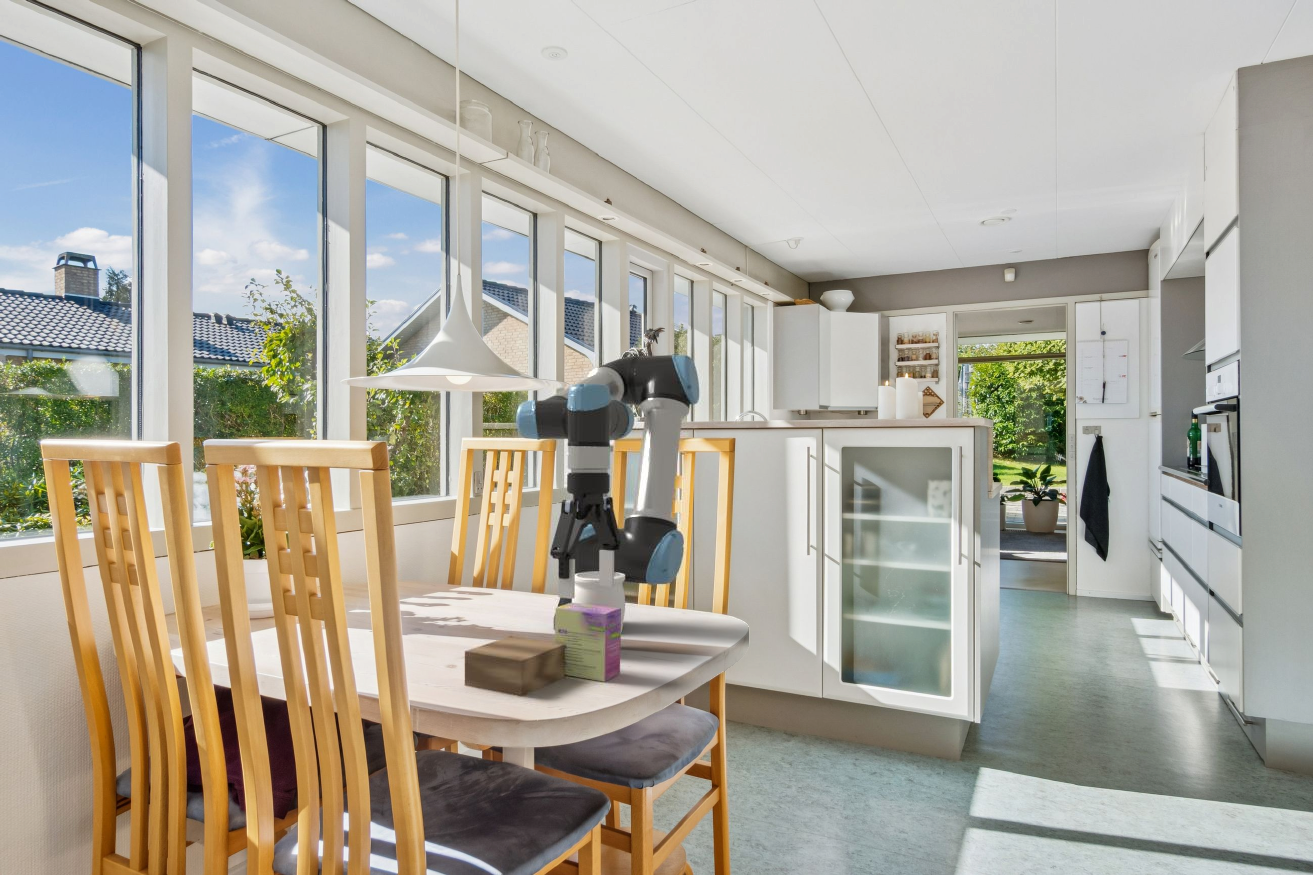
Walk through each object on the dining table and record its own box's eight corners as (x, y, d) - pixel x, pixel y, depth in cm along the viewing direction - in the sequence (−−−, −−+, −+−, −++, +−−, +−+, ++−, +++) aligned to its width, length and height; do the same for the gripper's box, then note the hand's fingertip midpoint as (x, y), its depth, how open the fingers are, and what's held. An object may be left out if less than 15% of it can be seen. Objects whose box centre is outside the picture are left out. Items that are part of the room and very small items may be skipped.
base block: (510, 669, 141) (510, 635, 141) (564, 678, 136) (564, 644, 136) (464, 687, 131) (464, 651, 131) (521, 698, 125) (521, 660, 125)
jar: (597, 641, 160) (598, 568, 160) (635, 650, 153) (636, 574, 154) (560, 652, 152) (560, 575, 152) (598, 661, 145) (599, 581, 145)
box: (621, 673, 138) (621, 607, 138) (605, 682, 132) (605, 613, 133) (571, 666, 142) (571, 601, 142) (554, 674, 137) (554, 607, 137)
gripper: (605, 470, 150) (604, 579, 150) (529, 472, 128) (528, 601, 128) (639, 470, 147) (638, 582, 147) (568, 472, 125) (567, 605, 124)
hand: (587, 591), depth 137 cm, fingers open, 13 cm apart
